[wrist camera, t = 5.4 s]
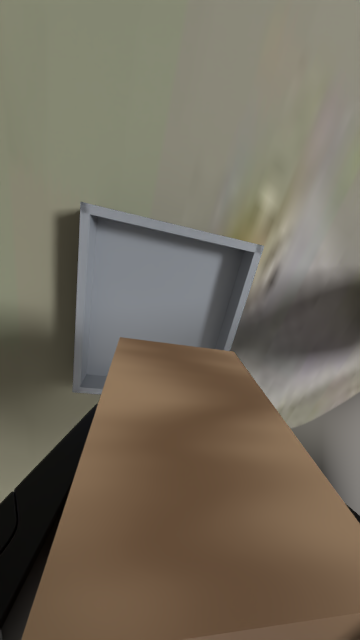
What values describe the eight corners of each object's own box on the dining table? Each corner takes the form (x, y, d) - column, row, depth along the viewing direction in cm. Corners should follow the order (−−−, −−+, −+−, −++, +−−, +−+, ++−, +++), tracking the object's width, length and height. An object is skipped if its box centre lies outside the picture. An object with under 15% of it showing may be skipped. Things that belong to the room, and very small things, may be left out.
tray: (250, 245, 18) (264, 245, 16) (206, 386, 23) (212, 403, 21) (91, 207, 16) (80, 201, 13) (81, 375, 21) (72, 392, 18)
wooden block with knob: (233, 351, 9) (425, 613, 3) (206, 433, 11) (287, 719, 4) (119, 337, 8) (6, 682, 2) (108, 429, 10) (28, 784, 4)
